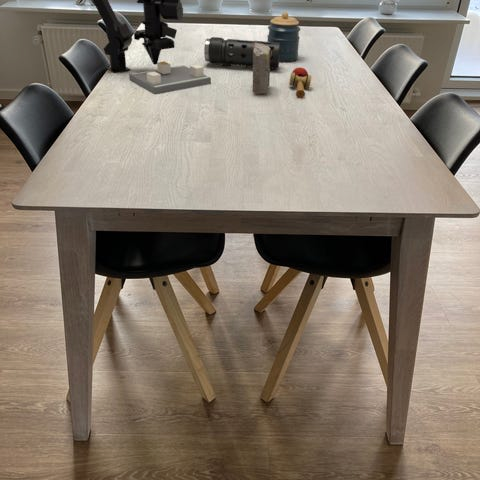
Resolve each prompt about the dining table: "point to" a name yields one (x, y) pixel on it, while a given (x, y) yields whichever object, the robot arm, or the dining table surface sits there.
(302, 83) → the kendama
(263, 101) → the dining table surface
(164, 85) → the switch panel
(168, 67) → the switch
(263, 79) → the geological specimen
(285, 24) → the canister
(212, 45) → the muzzle brake
